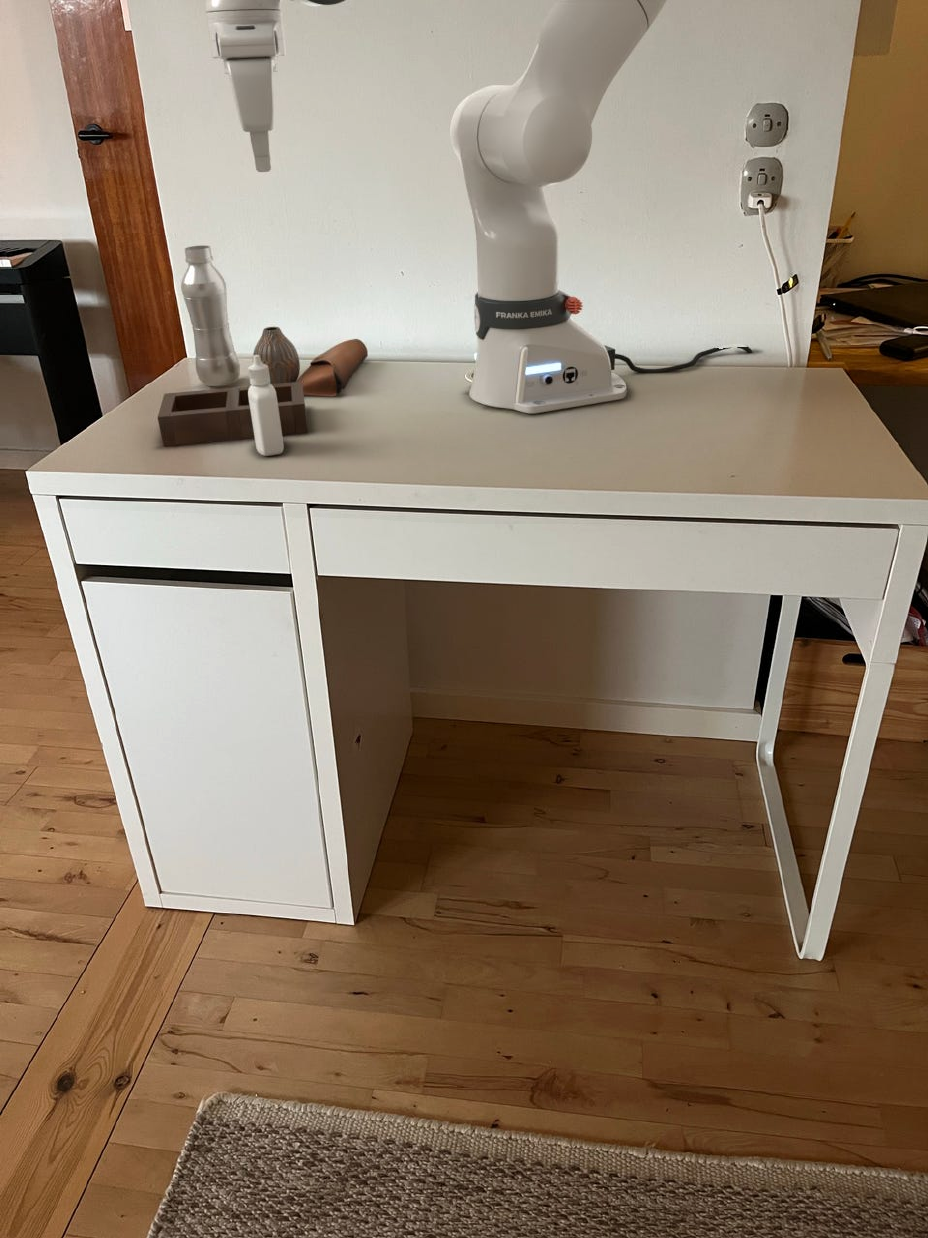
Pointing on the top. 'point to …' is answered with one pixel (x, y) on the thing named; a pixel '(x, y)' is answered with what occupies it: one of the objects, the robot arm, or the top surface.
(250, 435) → the stand
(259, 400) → the eye dropper bottle
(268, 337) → the vase
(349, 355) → the sunglasses case
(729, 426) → the top surface
